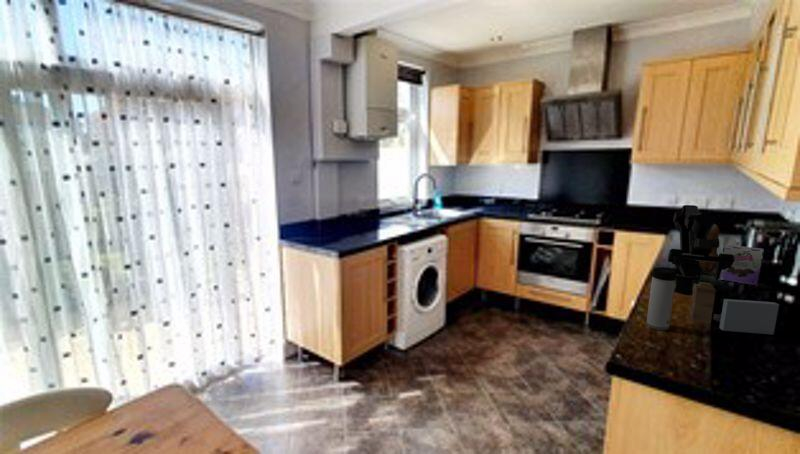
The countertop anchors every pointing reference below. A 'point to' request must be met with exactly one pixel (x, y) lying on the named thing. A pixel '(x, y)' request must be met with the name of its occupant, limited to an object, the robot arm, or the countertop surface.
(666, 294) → the travel mug
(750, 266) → the candy box
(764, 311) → the grey stool
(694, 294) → the brown box with handle
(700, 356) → the countertop surface
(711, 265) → the butternut squash
